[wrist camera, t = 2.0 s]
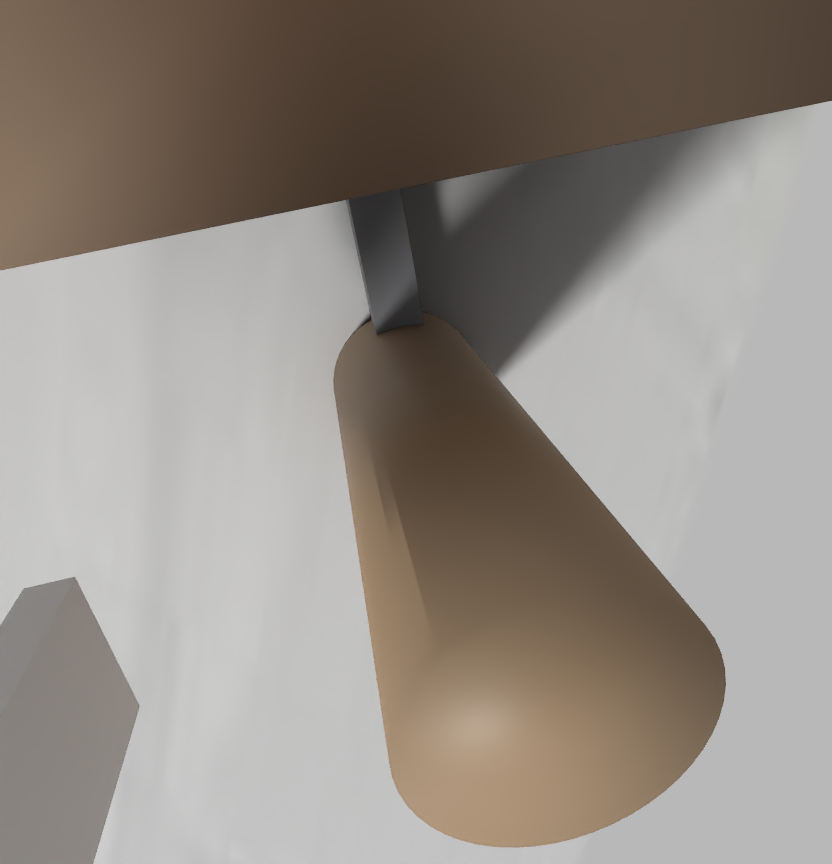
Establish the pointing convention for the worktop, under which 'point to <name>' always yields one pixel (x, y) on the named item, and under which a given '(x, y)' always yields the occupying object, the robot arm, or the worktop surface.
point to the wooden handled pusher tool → (501, 589)
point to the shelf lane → (352, 99)
